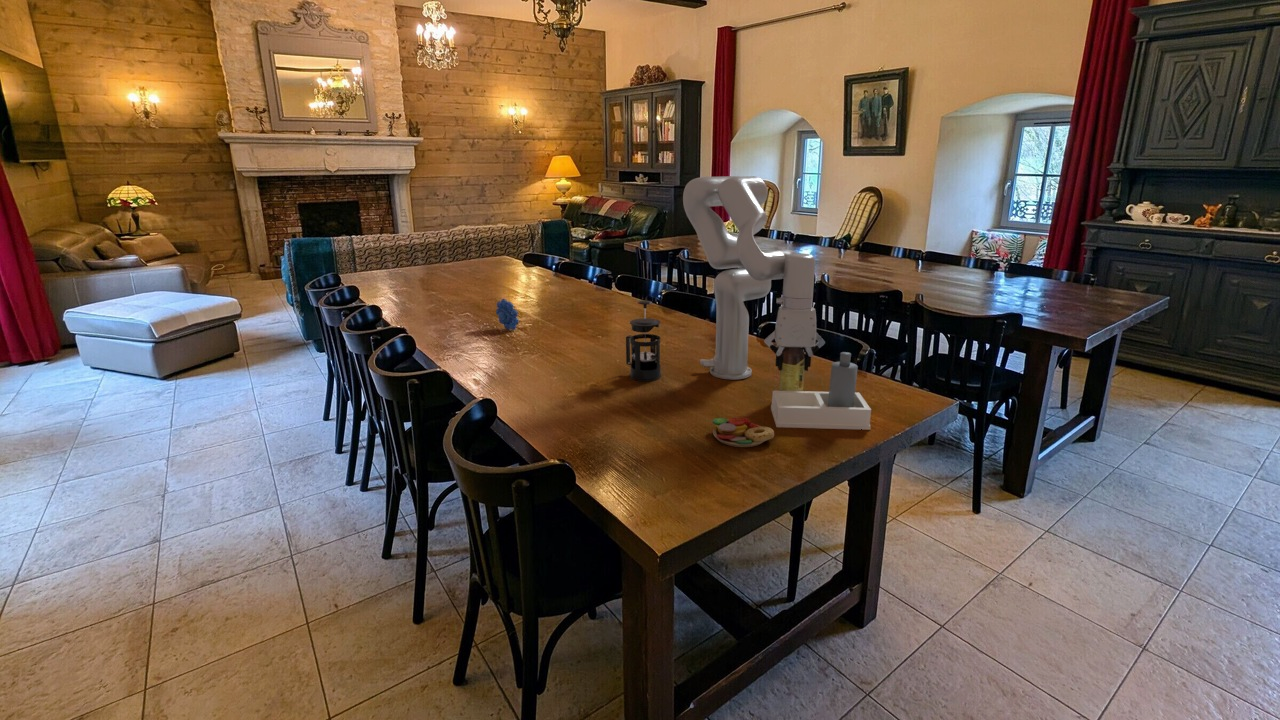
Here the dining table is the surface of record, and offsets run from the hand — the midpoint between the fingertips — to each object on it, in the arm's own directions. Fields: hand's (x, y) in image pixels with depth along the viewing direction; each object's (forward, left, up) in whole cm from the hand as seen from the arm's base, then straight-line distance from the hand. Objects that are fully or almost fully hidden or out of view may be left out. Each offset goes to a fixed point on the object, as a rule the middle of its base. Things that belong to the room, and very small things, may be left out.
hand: (792, 368), depth 161 cm
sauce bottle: (0, 0, -9) cm, 9 cm away
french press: (-41, +16, -9) cm, 45 cm away
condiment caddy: (+5, -13, -9) cm, 16 cm away
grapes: (-99, +66, -9) cm, 119 cm away
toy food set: (-15, -25, -9) cm, 31 cm away
